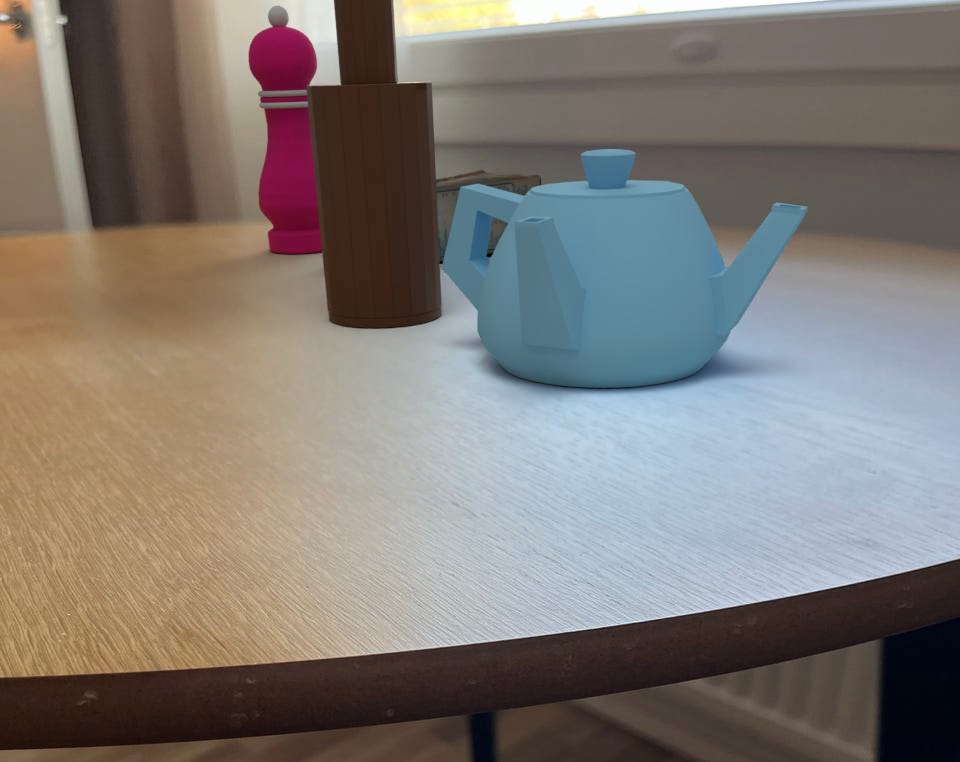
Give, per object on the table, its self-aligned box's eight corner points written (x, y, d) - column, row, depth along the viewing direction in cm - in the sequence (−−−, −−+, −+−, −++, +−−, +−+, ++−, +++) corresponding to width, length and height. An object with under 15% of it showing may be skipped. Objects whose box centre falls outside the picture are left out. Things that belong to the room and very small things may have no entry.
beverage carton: (322, 263, 91) (314, 182, 88) (497, 241, 100) (496, 167, 97) (365, 274, 85) (359, 187, 82) (548, 249, 94) (548, 171, 91)
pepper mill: (305, 257, 94) (279, 1, 85) (248, 252, 98) (217, 6, 88) (355, 246, 99) (336, 4, 90) (299, 241, 103) (275, 9, 93)
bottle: (305, 321, 69) (270, -11, 60) (374, 301, 75) (351, -5, 66) (398, 332, 66) (376, -20, 56) (462, 310, 71) (451, -13, 62)
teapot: (666, 322, 66) (676, 136, 61) (798, 377, 54) (825, 149, 48) (438, 345, 62) (429, 149, 57) (523, 410, 50) (521, 166, 44)
